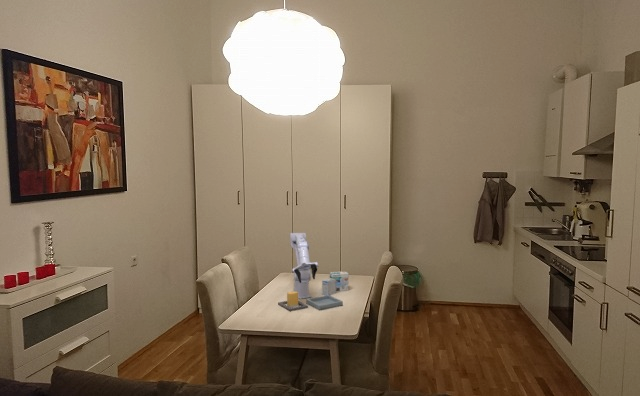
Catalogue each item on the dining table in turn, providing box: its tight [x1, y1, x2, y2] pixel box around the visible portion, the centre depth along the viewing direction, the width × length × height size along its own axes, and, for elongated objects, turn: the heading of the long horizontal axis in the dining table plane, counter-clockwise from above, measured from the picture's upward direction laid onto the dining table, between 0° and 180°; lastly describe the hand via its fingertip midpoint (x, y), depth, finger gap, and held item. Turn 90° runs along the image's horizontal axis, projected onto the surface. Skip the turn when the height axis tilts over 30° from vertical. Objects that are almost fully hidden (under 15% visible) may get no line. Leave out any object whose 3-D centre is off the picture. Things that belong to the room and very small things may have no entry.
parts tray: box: [305, 295, 344, 311], centre depth 247 cm, size 14×15×2 cm
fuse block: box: [286, 290, 299, 308], centre depth 245 cm, size 4×5×8 cm
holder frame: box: [277, 300, 309, 312], centre depth 245 cm, size 14×11×1 cm
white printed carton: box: [329, 270, 350, 292], centre depth 276 cm, size 11×7×11 cm, turn 105°
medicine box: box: [321, 277, 337, 296], centre depth 268 cm, size 8×4×9 cm, turn 141°
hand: (306, 280), depth 242 cm, fingers open, 7 cm apart
